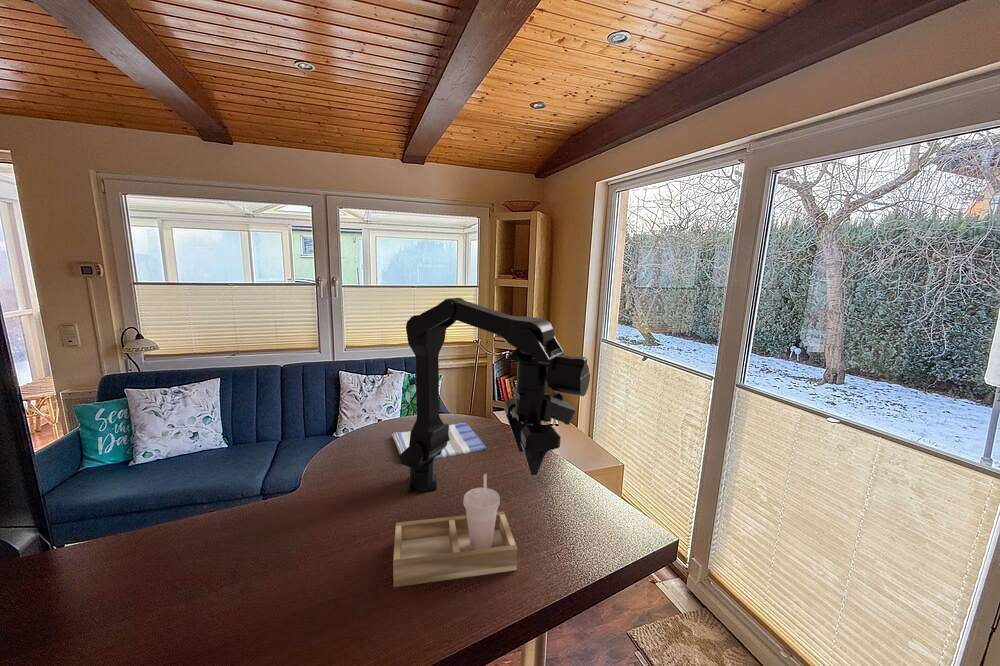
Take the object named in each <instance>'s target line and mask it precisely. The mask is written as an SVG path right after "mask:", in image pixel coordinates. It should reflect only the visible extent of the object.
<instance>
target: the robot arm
mask: <svg viewBox="0 0 1000 666" xmlns="http://www.w3.org/2000/svg"><path fill="white" fill-rule="evenodd" d="M408 319H409V320H407V321H406V325H405V331H406V338H407V343H408V346H409V347H410V350H411V351H412V352H413V354H414V357H415V358H414V359H415V393H416V396H415V397H416V420H415V421H414V424H413V426H412V429H411V430H410V431H411V434H410V442H409V447H408V448H407V449H406V450H405V451H404V452H402V453H401V454H399V459H400V463H401V465H403V466H406V467H408V473H409V474H408V475H407V489H406V491H407V493H417V492H418V493H419V492H427V491H428V492H429V491H430V492H431V491H437V490H438V485H437V483H438V482H437V474H436V473H435V459H434V458H435V457H436V456H438V455H440V454H441V452H442V450H443V449H444V448H445V447H446V446H447V442H448V441H449V440H450V439H449V434H448V432H449V423H444V421H443V420H442V419H441V417H440V385H439V384H440V383H439V381H440V379H439V375H440V374H439V368H440V367H439V363H440V362H439V354H440V352H441V349H442V347H443V345H444V343H445V339H446V333H447V329H448V328H450V327H451V326H453V325H454V324H455V323H456V322H460V323H464V324H466V325H469V326H472V327H475V328H478V329H480V330H483V331H486V332H489V333H491V334H494V335H497V336H498V337H501V338H503V339H504V340H505V341H506V342H507V344H509V345H510V346H512V347H514V348H515V349H514V351H513V352H512V353H510V354H509V355H507V358H506V359H507V361H511V362H512V361H513V362H517V369H516V373H517V374H516V386H514V387H513V393H514V395H515V397H513V398H508V399H507V400H506V401H505V402H504V410H503V411H504V412H505V417H506V419H507V422H508V425H509V427H510V430H511V433H512V435H513V438H514V441H515V444H516V448H517V449H518V452H519V453H523V455H524V458H525V461H526V464H527V467H528V471H529V473H530V475H531V476H537V475H538V472H539V470H540V468H541V466H542V463H543V461H544V458H545V456H546V454H547V452H549V451H553V450H555V449H559V448H560V447H561V437H562V436H560V434H559V433H558V432H557V431H556V429H555V428H554V427H553V426H552V425H551V424H543V423H542V422H544V423H547V422H548V423H549V422H551V419H552V420H556V421H558V422H560V423H561V422H562V423H564V425H569V426H570V424H571V422H572V420H573V418H574V416H575V412H576V408H575V407H574V406H573V405H572V404H571V403H569V402H568V401H566V400H564V395H563V394H562V393H564V394H569V395H573V396H578V397H584V396H586V394H587V392H588V389H589V385H590V379H591V373H590V369H589V367H590V366H589V364H588V358H587V356H586V357H584V356H572V355H565V352H564V350H563V348H562V346H561V344H560V342H559V341H558V340H557V337H556V336H555V331H554V328H553V325H552V324H551V322H550V321H549V320H547V319H546V318H540V317H532V316H521V315H519V316H518V315H511V314H507V313H503V312H501V311H497V310H494V309H491V308H488V307H485V306H482V305H479V304H476V303H474V302H471V301H467V300H465V299H463V298H461V297H453V298H452V297H450V298H445V299H444V300H442V301H441V302H439V303H438V304H437V305H436V306H434V307H431V308H430V309H427V310H425V311H424V312H422V313H420V314H415V315H413V316H411V317H409V318H408ZM545 349H546V350H545ZM548 388H550V389H551V391H552V392H551V393H549V392H548Z"/></svg>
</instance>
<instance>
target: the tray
mask: <svg viewBox="0 0 1000 666" xmlns="http://www.w3.org/2000/svg"><path fill="white" fill-rule="evenodd" d="M506 516H507V515H506V513H505V512H504V511H497V514H496V521H495V527H494V534H493V540H492V546H491V548H486V549H478V550H471V547H470V539H469V531H468V523H467V515H466V514H465V515H464V514H463V515H455V516H447V517H438V518H430V519H429V518H428V519H420V520H410V521H408V520H407V521H401V522H395V528H394V529H395V531H394V547H393V561H392V568H393V569H392V571H393V572H392V573H393V576H392V577H393V578H392V579H393V588H397V587H404V586H405V587H406V586H413V585H420V584H427V583H434V582H442V581H448V580H456V579H463V578H470V577H476V576H477V577H478V576H484V575H485V576H486V575H491V574H492V575H493V574H498V573H506V572H513V571H514V572H515V571H517V570H518V569H517V568H518V547H517V543H516V541H515V539H514V536H513V534H512V530H511V528H510V524H509V522H508V519H507V517H506Z"/></svg>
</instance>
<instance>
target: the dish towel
mask: <svg viewBox="0 0 1000 666" xmlns="http://www.w3.org/2000/svg"><path fill="white" fill-rule="evenodd" d="M448 425H449V424H448ZM411 431H412V430H409V431H402V432H401V431H395V432H393V433H392V434H391V436H392V438H393V441H394V443H395V445H396V449H397V450H398V454H399V455H400V454H401V453H402V452H404V451H405V450H406V449H407V448H408V447H409V442H410V434H411ZM448 434H449V439H450V440H449V441H448V442H447V446H446V447H445V448H444V449H443V450H442V452H441V454H440V455H438V456H436V457H435V458H434V460H437V459H444V458H449V457H456V456H462V455H466V454H472V453H478V452H483V451H486V450H487V446H486V445H485V444H484V443H483V441H482V440H481V438H480V437H479V436H478V435H477V434H476V433H475V431H474V430H473V429H472V428H471V427H470V425H468V423H466V422H460V423H454V424H450V425H449V432H448Z"/></svg>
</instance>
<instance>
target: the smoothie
mask: <svg viewBox="0 0 1000 666" xmlns="http://www.w3.org/2000/svg"><path fill="white" fill-rule="evenodd" d="M487 482H488V474H487V473H484V474H483V486H482V487H475V488H472V489H470V490H468V491H466V493H464V495H463V506H464V508H465V515H467V523H468V531H469V539H470V547H471V550H478V549H486V548H491V546H492V540H493V534H494V527H495V521H496V514H497V512H498V508H499V506H500V504H501V499H500V498H501V495H500V494H499V493H498V492H497V491H496V490H494V489H492V488H489V487H488V485H487V484H488V483H487Z"/></svg>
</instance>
